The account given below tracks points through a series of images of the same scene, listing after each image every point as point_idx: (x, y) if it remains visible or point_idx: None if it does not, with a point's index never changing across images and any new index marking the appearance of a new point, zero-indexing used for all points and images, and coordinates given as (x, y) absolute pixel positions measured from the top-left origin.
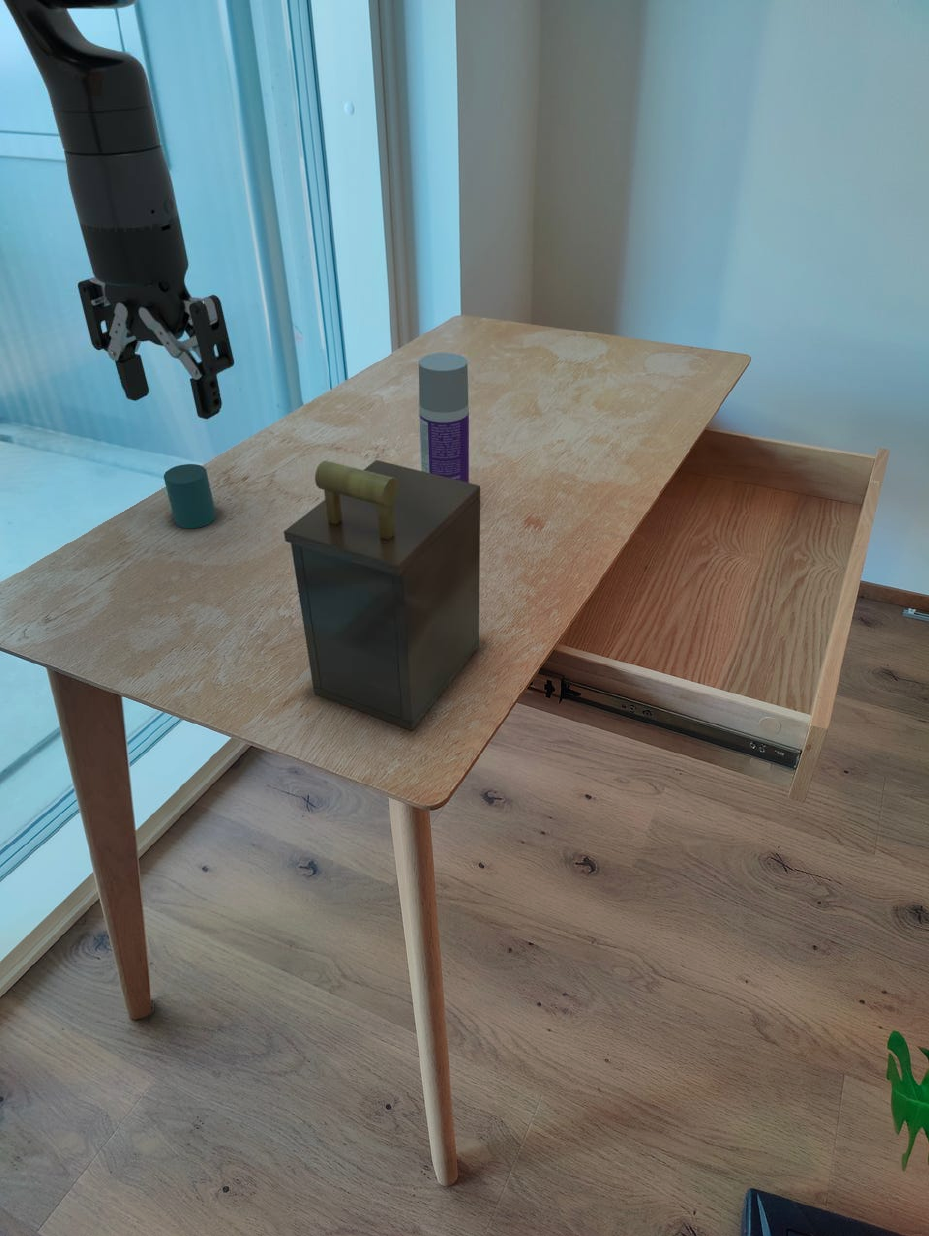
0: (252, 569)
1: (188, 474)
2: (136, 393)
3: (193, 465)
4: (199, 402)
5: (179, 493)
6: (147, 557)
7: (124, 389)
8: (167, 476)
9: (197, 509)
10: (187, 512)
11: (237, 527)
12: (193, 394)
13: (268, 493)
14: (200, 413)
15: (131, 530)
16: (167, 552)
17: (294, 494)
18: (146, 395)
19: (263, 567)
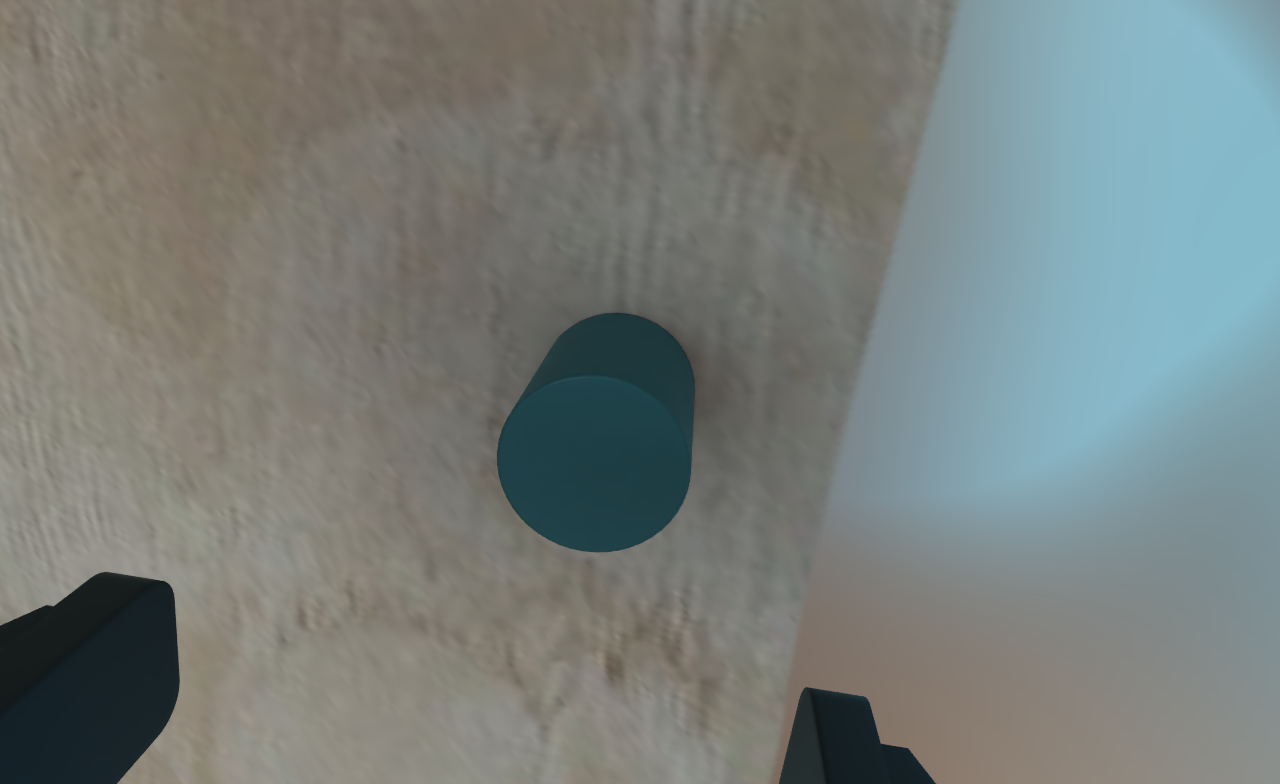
0: (206, 151)
1: (569, 462)
2: (802, 751)
3: (603, 539)
4: (18, 640)
5: (574, 359)
6: (621, 81)
7: (876, 744)
8: (651, 417)
9: (542, 363)
10: (576, 338)
11: (435, 381)
12: (18, 688)
13: (477, 607)
14: (101, 587)
15: (807, 233)
16: (569, 141)
17: (390, 624)
18: (781, 782)
19: (180, 177)
